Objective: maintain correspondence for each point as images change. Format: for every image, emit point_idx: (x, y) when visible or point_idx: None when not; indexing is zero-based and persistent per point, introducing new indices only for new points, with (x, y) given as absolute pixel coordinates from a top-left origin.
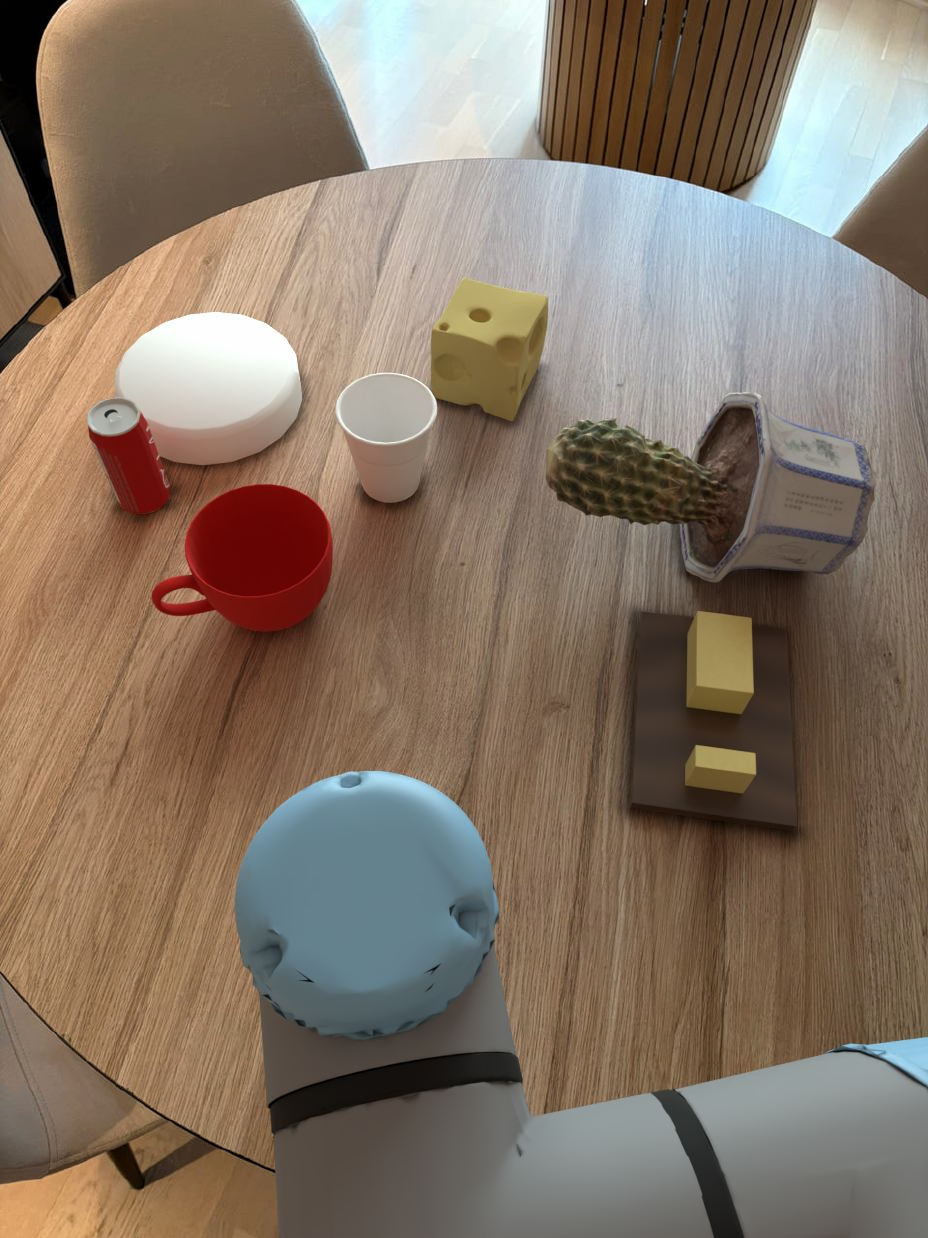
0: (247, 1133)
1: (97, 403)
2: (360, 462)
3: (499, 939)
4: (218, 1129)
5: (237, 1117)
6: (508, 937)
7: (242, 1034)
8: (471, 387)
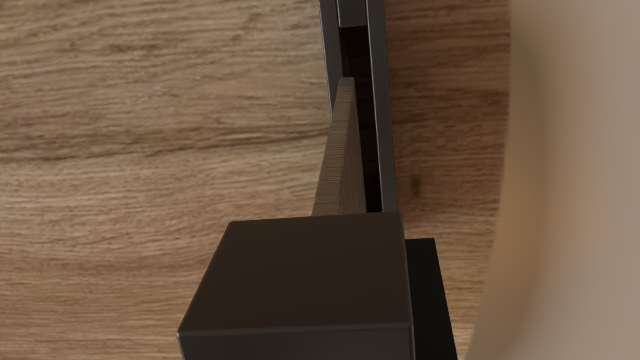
0: (457, 320)
1: None
2: None
3: (62, 25)
4: (459, 353)
5: None
6: (51, 9)
7: None
8: None
